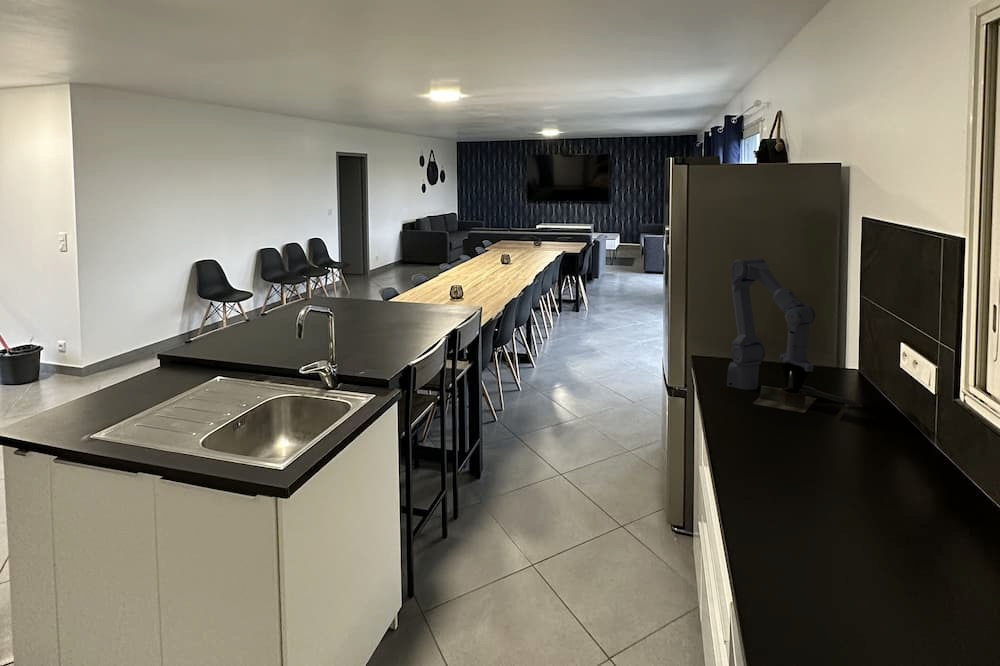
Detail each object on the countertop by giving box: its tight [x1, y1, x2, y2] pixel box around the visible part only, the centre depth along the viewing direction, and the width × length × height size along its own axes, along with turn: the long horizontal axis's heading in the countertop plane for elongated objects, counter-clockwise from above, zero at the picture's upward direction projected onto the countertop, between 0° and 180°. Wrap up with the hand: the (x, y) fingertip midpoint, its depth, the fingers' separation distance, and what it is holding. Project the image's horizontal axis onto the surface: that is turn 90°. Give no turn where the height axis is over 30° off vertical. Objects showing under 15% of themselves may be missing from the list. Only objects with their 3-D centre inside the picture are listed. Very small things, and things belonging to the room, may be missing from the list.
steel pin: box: [787, 370, 798, 394], centre depth 199 cm, size 3×3×8 cm
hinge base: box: [752, 385, 817, 413], centre depth 203 cm, size 15×17×5 cm
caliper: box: [801, 384, 863, 408], centre depth 202 cm, size 20×1×6 cm, turn 62°
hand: (793, 388), depth 200 cm, fingers closed on steel pin, 3 cm apart
